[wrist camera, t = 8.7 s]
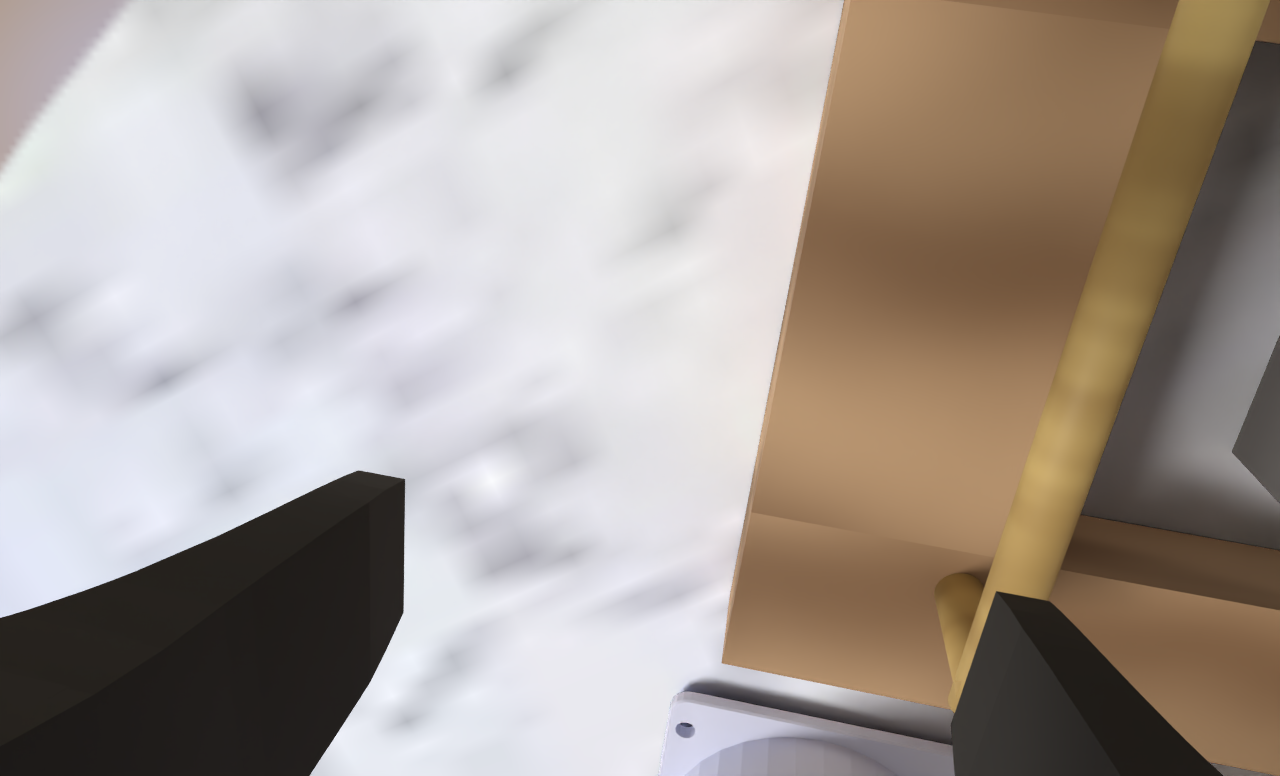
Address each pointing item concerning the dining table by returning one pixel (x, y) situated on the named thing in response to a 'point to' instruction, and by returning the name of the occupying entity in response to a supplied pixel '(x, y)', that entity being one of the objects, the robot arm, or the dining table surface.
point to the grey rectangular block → (1263, 430)
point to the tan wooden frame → (997, 360)
